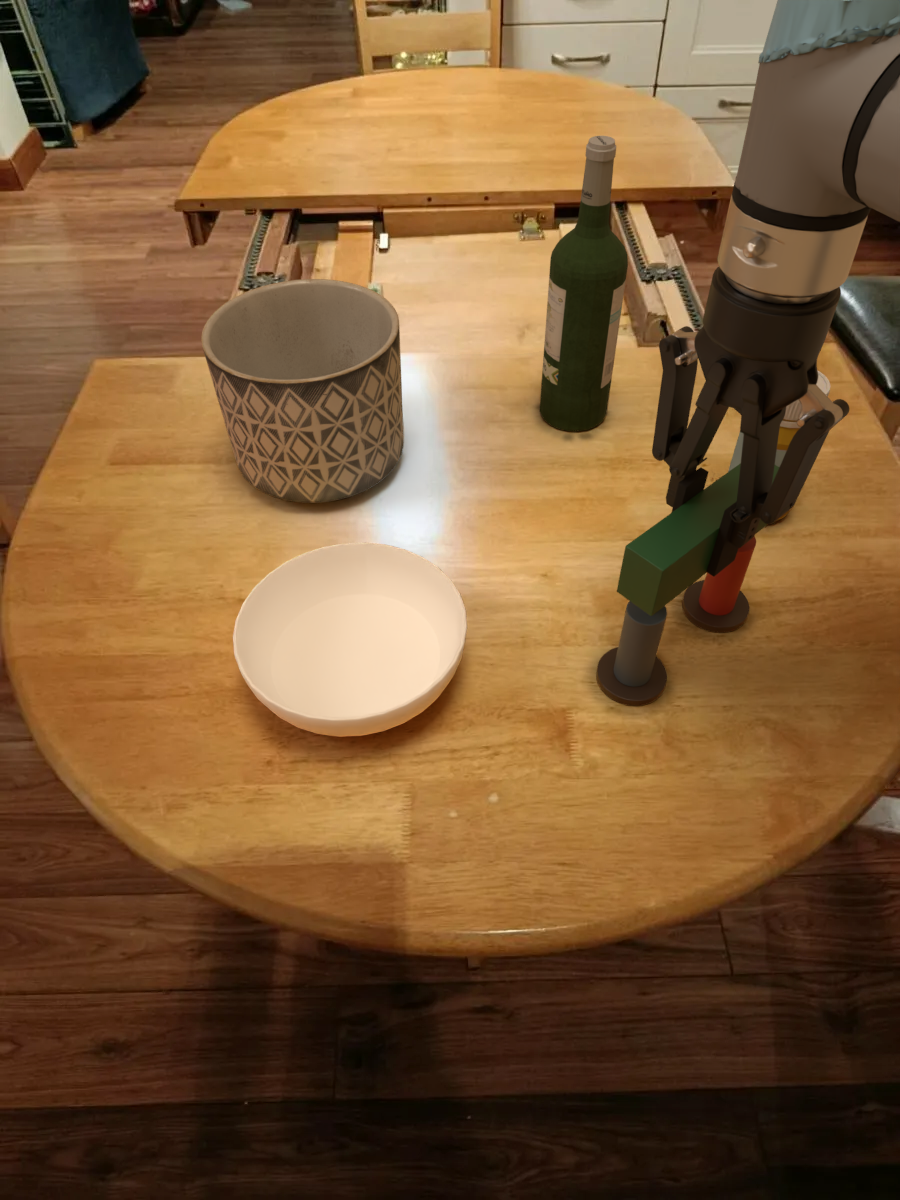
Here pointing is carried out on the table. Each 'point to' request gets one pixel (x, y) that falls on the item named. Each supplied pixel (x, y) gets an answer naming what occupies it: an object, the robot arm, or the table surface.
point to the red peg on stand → (720, 596)
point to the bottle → (783, 429)
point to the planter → (309, 387)
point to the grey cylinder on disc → (635, 660)
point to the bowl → (350, 638)
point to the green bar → (677, 547)
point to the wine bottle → (584, 304)
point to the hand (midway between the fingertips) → (698, 551)
